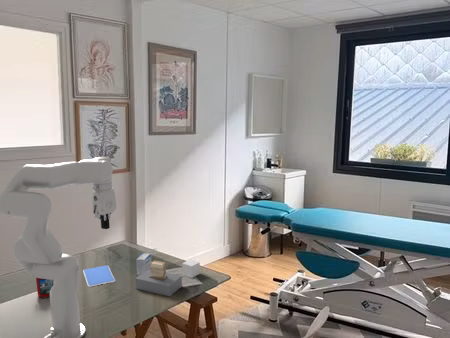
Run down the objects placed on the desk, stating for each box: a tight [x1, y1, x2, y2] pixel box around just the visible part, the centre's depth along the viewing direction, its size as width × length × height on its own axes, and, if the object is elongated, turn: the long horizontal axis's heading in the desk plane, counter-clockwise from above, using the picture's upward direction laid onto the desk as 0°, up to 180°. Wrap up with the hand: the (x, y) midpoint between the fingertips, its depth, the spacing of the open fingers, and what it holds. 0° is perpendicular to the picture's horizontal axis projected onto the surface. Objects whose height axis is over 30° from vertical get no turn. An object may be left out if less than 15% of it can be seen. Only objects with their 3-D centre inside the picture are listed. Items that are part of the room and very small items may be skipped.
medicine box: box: [135, 252, 152, 277], centre depth 203 cm, size 8×4×9 cm, turn 168°
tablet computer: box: [82, 265, 116, 288], centre depth 201 cm, size 19×13×1 cm, turn 26°
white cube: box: [181, 259, 201, 279], centre depth 202 cm, size 6×6×6 cm
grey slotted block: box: [135, 269, 183, 297], centre depth 189 cm, size 10×18×5 cm, turn 66°
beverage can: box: [35, 277, 54, 299], centre depth 182 cm, size 7×7×12 cm
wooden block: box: [151, 260, 167, 281], centre depth 188 cm, size 3×6×12 cm, turn 66°
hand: (105, 228), depth 176 cm, fingers closed
